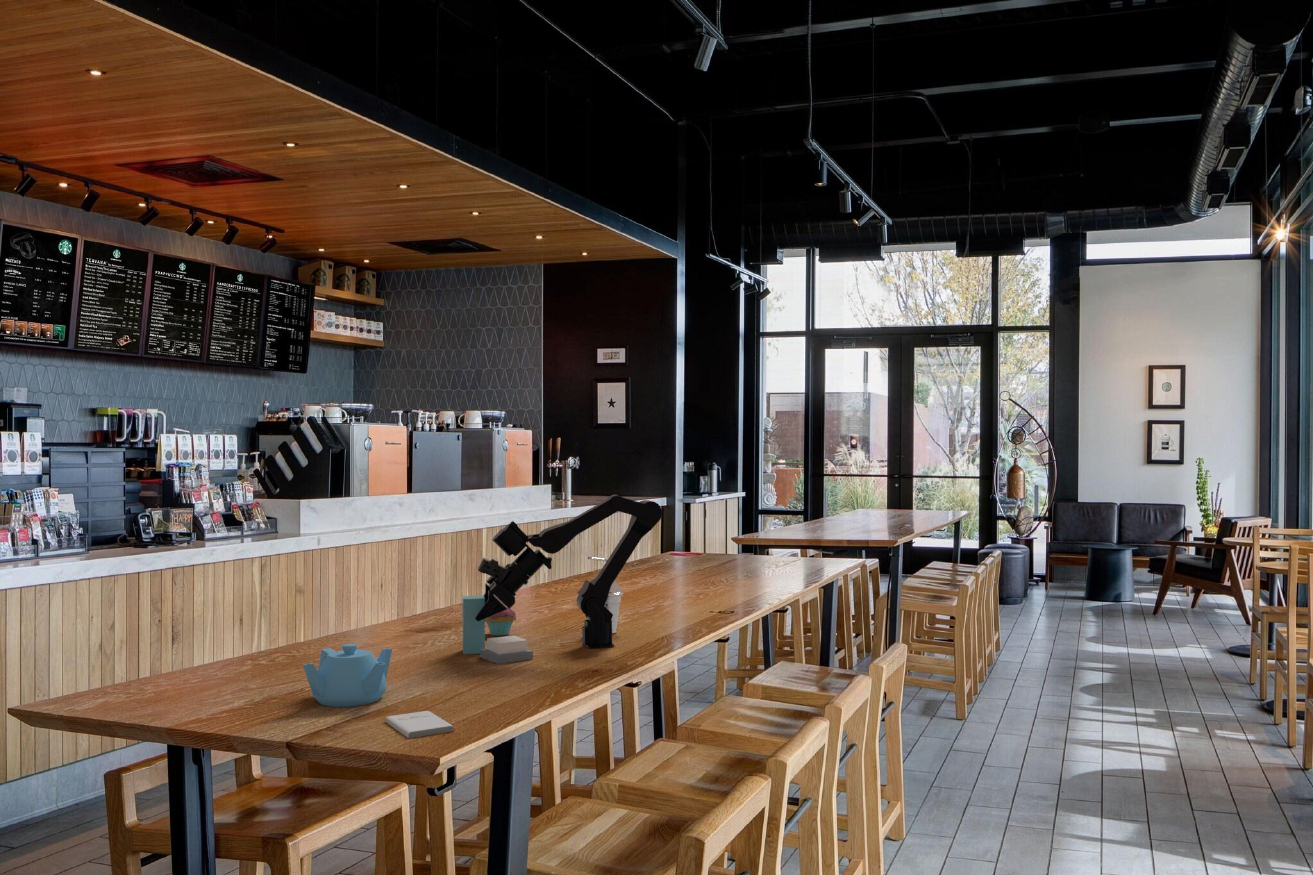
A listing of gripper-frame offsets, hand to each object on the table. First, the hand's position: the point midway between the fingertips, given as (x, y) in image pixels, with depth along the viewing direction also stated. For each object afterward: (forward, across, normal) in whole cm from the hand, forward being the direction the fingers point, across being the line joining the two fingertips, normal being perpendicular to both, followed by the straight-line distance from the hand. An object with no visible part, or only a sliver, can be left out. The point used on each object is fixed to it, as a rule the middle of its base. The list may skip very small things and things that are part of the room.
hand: (475, 616), depth 254 cm
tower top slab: (0, +9, +9) cm, 13 cm away
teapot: (+25, +42, -12) cm, 50 cm away
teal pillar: (+6, 0, +6) cm, 8 cm away
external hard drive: (+16, +65, -3) cm, 67 cm away
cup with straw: (-19, -18, +30) cm, 40 cm away
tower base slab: (+2, +9, +11) cm, 15 cm away
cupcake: (+1, -22, +11) cm, 25 cm away
